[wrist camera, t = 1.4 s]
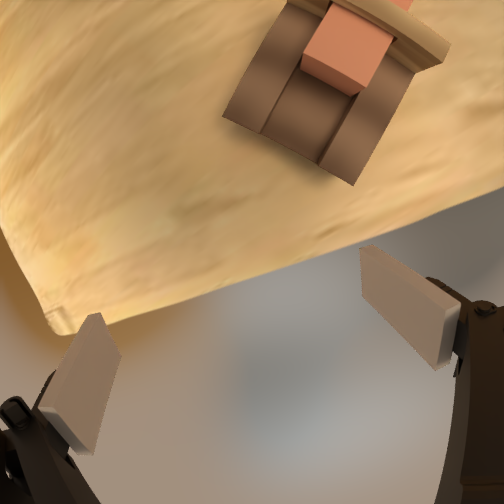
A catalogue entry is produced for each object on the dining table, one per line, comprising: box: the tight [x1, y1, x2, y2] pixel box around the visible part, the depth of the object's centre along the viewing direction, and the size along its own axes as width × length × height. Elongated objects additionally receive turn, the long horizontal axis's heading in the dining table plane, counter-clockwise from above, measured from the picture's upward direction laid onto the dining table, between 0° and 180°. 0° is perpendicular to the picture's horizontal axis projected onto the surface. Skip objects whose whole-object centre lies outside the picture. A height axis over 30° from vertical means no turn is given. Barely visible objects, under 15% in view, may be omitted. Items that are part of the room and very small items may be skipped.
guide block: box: [222, 0, 451, 186], centre depth 23 cm, size 14×12×14 cm
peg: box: [300, 0, 413, 97], centre depth 18 cm, size 14×5×6 cm, turn 153°
